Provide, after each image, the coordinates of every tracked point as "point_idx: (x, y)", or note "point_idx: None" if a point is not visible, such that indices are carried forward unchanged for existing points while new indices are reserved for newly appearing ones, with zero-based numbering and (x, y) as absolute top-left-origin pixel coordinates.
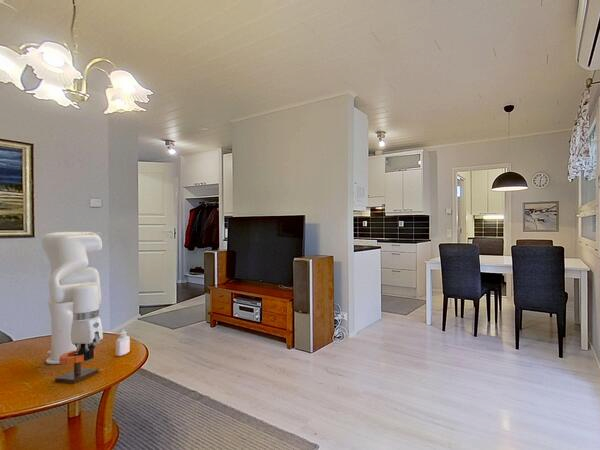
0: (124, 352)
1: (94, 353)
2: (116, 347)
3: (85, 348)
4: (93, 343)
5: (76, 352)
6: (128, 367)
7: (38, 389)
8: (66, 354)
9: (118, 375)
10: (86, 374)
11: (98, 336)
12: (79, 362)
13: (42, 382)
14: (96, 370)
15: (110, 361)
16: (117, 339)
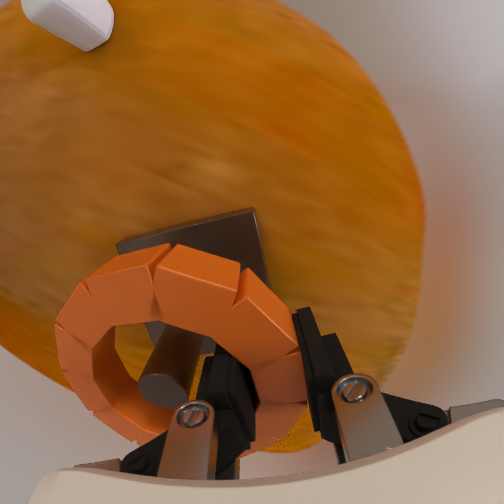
0: (109, 15)
1: (256, 288)
2: (63, 32)
3: (338, 460)
4: (388, 449)
5: (98, 359)
6: (353, 98)
7: (195, 394)
8: (123, 421)
9: (408, 192)
10: (268, 283)
11: (487, 495)
12: (202, 336)
13: (126, 360)
14: (256, 223)
15: (131, 90)
16: (28, 9)
